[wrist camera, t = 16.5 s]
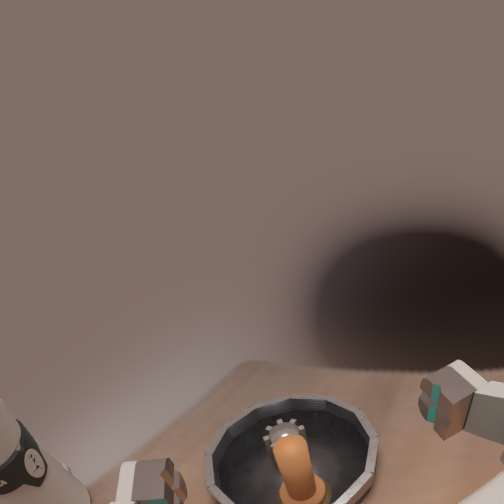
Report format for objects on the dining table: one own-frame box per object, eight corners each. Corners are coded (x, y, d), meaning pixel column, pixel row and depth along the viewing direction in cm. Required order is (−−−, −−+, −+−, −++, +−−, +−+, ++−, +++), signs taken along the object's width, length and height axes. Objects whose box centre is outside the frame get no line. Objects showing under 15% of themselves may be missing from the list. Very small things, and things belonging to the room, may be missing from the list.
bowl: (223, 551, 22) (199, 527, 20) (210, 434, 42) (193, 399, 40) (403, 495, 24) (411, 462, 22) (341, 395, 43) (337, 357, 41)
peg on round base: (296, 520, 24) (280, 477, 21) (273, 493, 28) (253, 444, 25) (334, 497, 26) (328, 448, 23) (310, 472, 30) (297, 419, 27)
